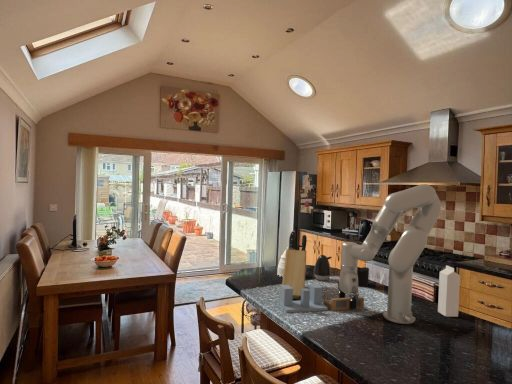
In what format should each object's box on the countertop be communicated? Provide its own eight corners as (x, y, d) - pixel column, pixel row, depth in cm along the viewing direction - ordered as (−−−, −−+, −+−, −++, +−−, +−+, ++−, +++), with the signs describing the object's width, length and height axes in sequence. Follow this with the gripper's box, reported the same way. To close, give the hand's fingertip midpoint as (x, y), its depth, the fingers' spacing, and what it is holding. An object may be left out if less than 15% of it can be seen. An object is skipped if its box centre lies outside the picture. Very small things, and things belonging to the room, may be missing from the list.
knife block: (305, 282, 197) (307, 230, 197) (303, 302, 163) (306, 239, 162) (286, 280, 199) (288, 229, 199) (280, 300, 165) (282, 237, 164)
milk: (449, 312, 157) (452, 265, 157) (458, 317, 151) (460, 268, 151) (437, 311, 157) (439, 264, 156) (445, 316, 151) (447, 268, 150)
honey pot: (299, 277, 207) (300, 248, 207) (278, 277, 206) (279, 248, 206) (295, 272, 220) (296, 245, 220) (275, 272, 219) (277, 244, 219)
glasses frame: (363, 308, 157) (364, 298, 157) (332, 310, 153) (333, 299, 153) (353, 302, 166) (353, 292, 166) (323, 303, 162) (324, 293, 162)
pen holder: (359, 281, 203) (359, 265, 203) (371, 286, 195) (372, 269, 195) (348, 283, 198) (348, 266, 198) (360, 288, 190) (361, 270, 190)
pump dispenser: (332, 282, 200) (333, 256, 199) (315, 281, 200) (316, 256, 200) (328, 277, 210) (329, 253, 210) (312, 277, 210) (313, 252, 210)
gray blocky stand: (327, 310, 153) (328, 290, 153) (286, 312, 148) (287, 292, 148) (317, 301, 164) (318, 283, 164) (278, 303, 159) (279, 285, 159)
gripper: (366, 273, 148) (364, 312, 148) (346, 264, 165) (344, 298, 165) (351, 274, 146) (349, 312, 147) (332, 264, 163) (331, 299, 163)
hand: (347, 305), depth 156 cm, fingers open, 9 cm apart
